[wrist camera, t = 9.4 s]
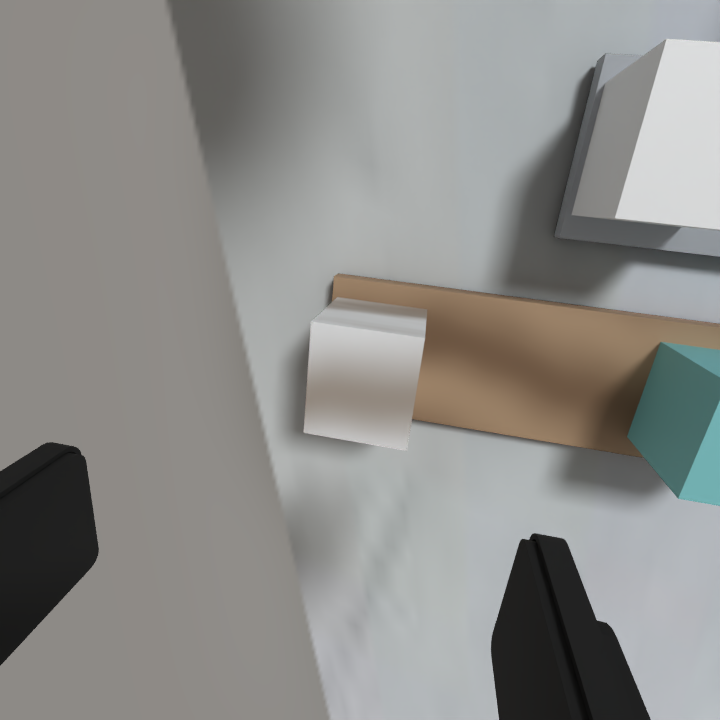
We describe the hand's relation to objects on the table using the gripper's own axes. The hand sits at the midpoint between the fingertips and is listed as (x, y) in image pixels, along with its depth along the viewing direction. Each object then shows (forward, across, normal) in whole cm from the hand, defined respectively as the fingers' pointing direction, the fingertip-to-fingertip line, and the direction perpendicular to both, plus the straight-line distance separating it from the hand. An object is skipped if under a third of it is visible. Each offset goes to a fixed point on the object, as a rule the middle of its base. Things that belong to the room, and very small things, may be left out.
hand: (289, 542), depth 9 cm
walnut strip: (+15, -11, +1) cm, 19 cm away
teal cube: (+14, -16, +1) cm, 21 cm away
